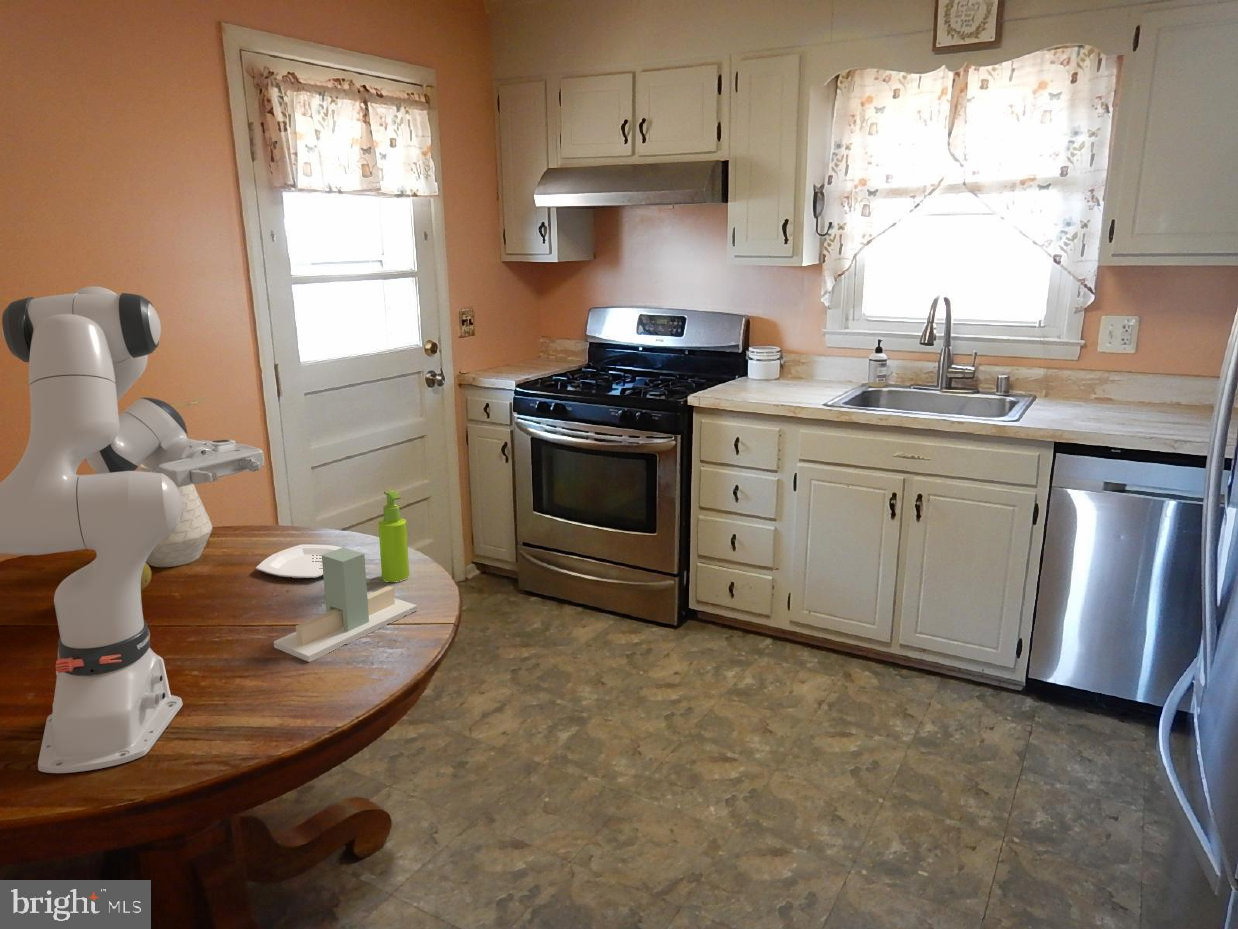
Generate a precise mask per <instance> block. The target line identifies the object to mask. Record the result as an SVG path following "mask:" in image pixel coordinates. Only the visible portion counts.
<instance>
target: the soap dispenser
mask: <svg viewBox="0 0 1238 929" xmlns="http://www.w3.org/2000/svg"><path fill="white" fill-rule="evenodd" d="M383 494H384V495H386V504H385V505H384V506H382V507H383V510H382V511H383V519H380V520H379V521H378V523H377V524H378V539H379V553H380V568H381V569H380V570H381V580H382V579H383V580H385V581H388V582H394V581H395V582H396V581H400V580H403V579H405V578H408V576H409V577H410V565H409V550H408V549H409V546H408V531H407V530H408V529H407V520H406V519H405V518H402V517H401V512H400V511H401V510H400V505H399V504H397V503H396V500H401V499H402V498H403V497H402V496H401V495H400V494H399V492H397V491H395V490H393V489H389V490H384V491H383ZM408 579H409V578H408ZM383 580H382V581H383ZM385 581H384V582H385ZM388 582H387V583H388Z"/></svg>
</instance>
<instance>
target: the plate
mask: <svg viewBox="0 0 1238 929" xmlns="http://www.w3.org/2000/svg"><path fill="white" fill-rule="evenodd" d="M340 548H343V547H341V546H338V545H337V546H336V545H329V544H308V543H307V544H306V543H305V544H301V543H300V544H298V545H295V546H292V547H288V548H286V549H283V550H280V551H277V552H276V553H273V554H271V555H269V556H268V557H267V558H265V559H264V560H263V561H261V562H260V563H259V564H258V565H257V566H256V567H255V569H256V570H257V571H260V572H263V573H266V574H269V575H273V576H277V577H286V578H290V577H292V578H293V579H300V578H315V579H317V578H319V576H320V577H323V576H322V575H323V569H319V568H323V566H320V565H322V563H321V562H315V561H322V559H319V558H322V556H319V555H323V554H326V553H329V552H332V551H335V550H337V549H340ZM312 555H314V556H312ZM316 555H318V556H316ZM312 558H314V559H312ZM316 558H318V559H316ZM312 561H314V562H312ZM316 577H317V578H316Z"/></svg>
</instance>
